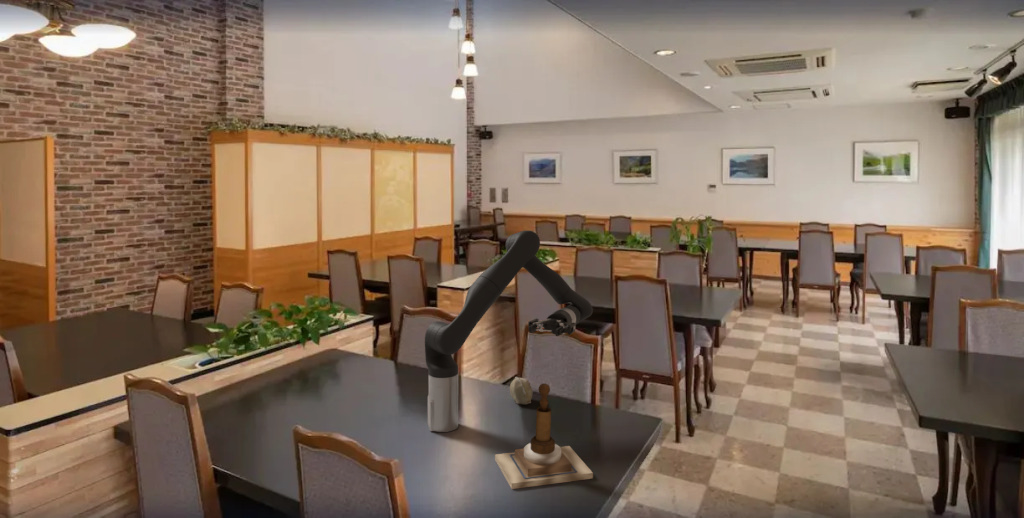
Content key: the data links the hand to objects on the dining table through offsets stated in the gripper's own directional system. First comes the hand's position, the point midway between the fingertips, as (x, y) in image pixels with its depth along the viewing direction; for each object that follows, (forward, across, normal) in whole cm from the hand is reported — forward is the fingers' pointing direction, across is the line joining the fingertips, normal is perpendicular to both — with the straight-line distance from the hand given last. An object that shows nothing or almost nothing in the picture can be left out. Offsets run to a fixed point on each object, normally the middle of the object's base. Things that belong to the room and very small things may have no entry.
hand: (543, 331), depth 184 cm
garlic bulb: (-21, -16, +32) cm, 42 cm away
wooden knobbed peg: (+23, +9, +27) cm, 36 cm away
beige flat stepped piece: (+23, +9, +32) cm, 40 cm away
